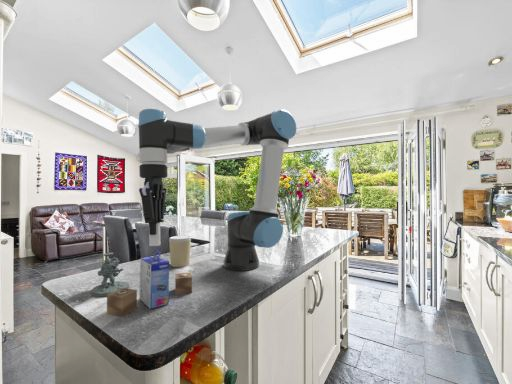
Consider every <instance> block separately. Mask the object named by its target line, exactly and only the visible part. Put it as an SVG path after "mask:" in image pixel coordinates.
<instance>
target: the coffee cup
mask: <svg viewBox="0 0 512 384" xmlns="http://www.w3.org/2000/svg"><path fill="white" fill-rule="evenodd" d="M191 242H192V237H191V236H190V235H174V236H171V237H169V239H168V243H169V255H170V257H169V258H170V265H171V267H173V268H182V267H183V268H184V267H187V266H189V265H190V261H191V260H190V259H191Z"/></svg>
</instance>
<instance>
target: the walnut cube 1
mask: <svg viewBox="0 0 512 384" xmlns="http://www.w3.org/2000/svg"><path fill="white" fill-rule="evenodd" d="M137 308H138V289H131V288H128V289H125V288H121V289H119V290H117V291H115V292H113V293H110V294H108V295H107V296H106V314H107V315H111V316H118V317H124V316H126V315H127V314H129V313H131V312H133V311H134V310H136V309H137Z"/></svg>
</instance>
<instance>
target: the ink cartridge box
mask: <svg viewBox="0 0 512 384" xmlns="http://www.w3.org/2000/svg"><path fill="white" fill-rule="evenodd" d="M157 254H158V255H157ZM161 256H162V251H161V250H159V249H157V250H155V253H153V255H151V256H146V257H140V259H139V261H140V262H139V263H140V266H139V267H140V268H139V292H138V293H139V294H138V295H139V297H138V298H139V299H140V300H141V301H142V302H143V303H144V305H146V307H148V309H154V308H158V307H162V306H167V305H169V302H170V301H169V300H170V299H169V297H170V296H169V294H170V293H169V292H170V284H169V283H170V280H169V279H170V261H169V260H168V259H164V258H162V257H161Z"/></svg>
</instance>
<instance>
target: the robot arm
mask: <svg viewBox="0 0 512 384" xmlns="http://www.w3.org/2000/svg"><path fill="white" fill-rule="evenodd" d="M137 127H138V145H139V147H138V148H139V152H138V157H139V158H138V159H139V163H140V165H139V166H138V167H139V177H140V178H142V179H144V182H143V187H139V189H138V192H139V194H140V197H141V205H142V212H143V220H144V223H145V224H147V225H148V241H149V243H148V246H149V247H159V246H161V240H162V239H161V223H164V220H165V219H164V218H165V217H164V216H165V203H166V195H167V191H168V190H167V188H166V187H164V183H163V182H164V181H163V179H166V178H168V166H167V165H166V164H168V155H169V154H176V153H179V152H185V151H193V150H200V149H201V150H202V149H207V148H208V149H209V148H217V147H225V146H230V145H231V146H232V145H239V144H240V145H241V146H251V145H252V146H257V145H258V146H259V145H260V146H261V147H262V150H261V157H260V163H259V170H258V176H257V184H256V192H255V197H254V203H253V204H254V205H253V206H252V207H251V208H249V210H247V211H237V212H231V213H229V214H228V216H227V220H226V221H227V222H226V223H227V250H226V253H225V257H224V259H223V267H224V268H225V269H228V270H231V271H250V270H255V269H257V268H258V267H259V266H260V259H259V256H258V252H257V250H256V246H257V247H258V248H265V249H266V248H267V249H268V248H269V249H271V248H273V247H275V246H276V245H277V244H278V243H279V242H280V241H281V238H282V236H283V233H284V225H283V224H282V221H281V220H280V219H279V217H280V213H279V212H278V210H277V202H278V195H279V188H280V181H281V173H282V165H283V158H284V151H285V150H286V149H288V147H289V144H290V143H289V142H290V139H292V138H294V137H295V135H296V134H297V123H296V120H295V119H294V116H293V115H292V114H291V113H290V112H289V111H288V110H286V109H278V110H273V111H272V112H270V113H268V114H265V115H262V116H258V117H257V118H255V119H252V120H250V121H246V122H245V121H244V122H239V123H238V124H237V125H228V126H217V127H216V126H215V127H203V126H202V125H198V124H195V123H189V122H181V121H176V120H171V119H168V117H167V113H166V112H165V111H163V110H160V109H156V108H144V109H142V110H141V111H139V113H138V126H137Z"/></svg>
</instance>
